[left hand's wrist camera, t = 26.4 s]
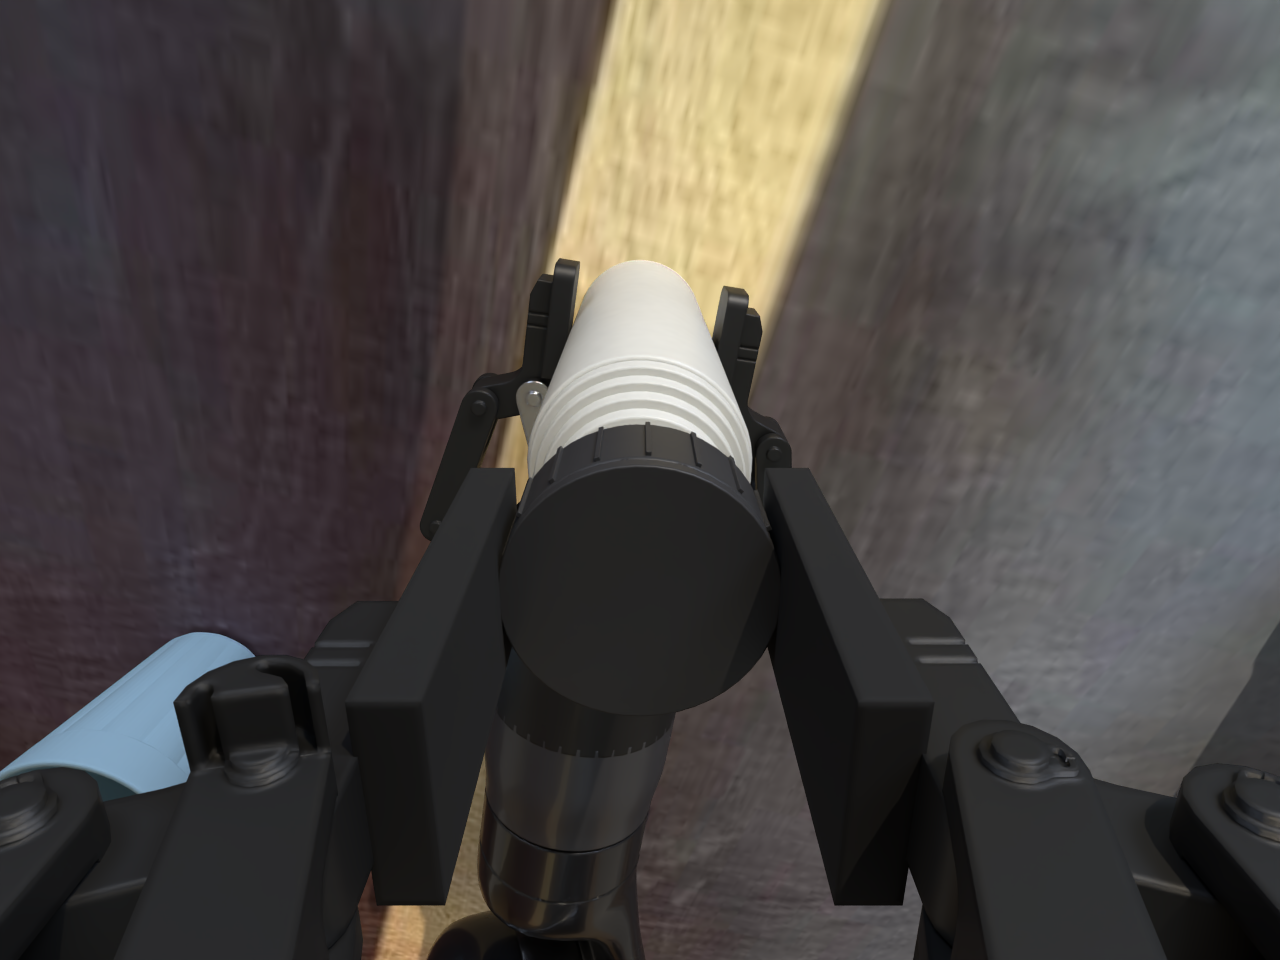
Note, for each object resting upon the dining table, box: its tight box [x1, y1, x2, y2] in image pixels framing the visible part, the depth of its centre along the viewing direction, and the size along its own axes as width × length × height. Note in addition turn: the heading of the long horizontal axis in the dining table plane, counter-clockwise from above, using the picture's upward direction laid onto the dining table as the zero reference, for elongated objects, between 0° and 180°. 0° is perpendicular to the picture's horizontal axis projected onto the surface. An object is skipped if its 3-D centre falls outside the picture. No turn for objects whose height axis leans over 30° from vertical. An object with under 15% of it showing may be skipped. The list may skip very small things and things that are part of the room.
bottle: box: [527, 260, 752, 483], centre depth 24 cm, size 5×5×22 cm
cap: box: [499, 422, 781, 716], centre depth 14 cm, size 4×4×2 cm
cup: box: [0, 632, 255, 802], centre depth 35 cm, size 8×8×10 cm
